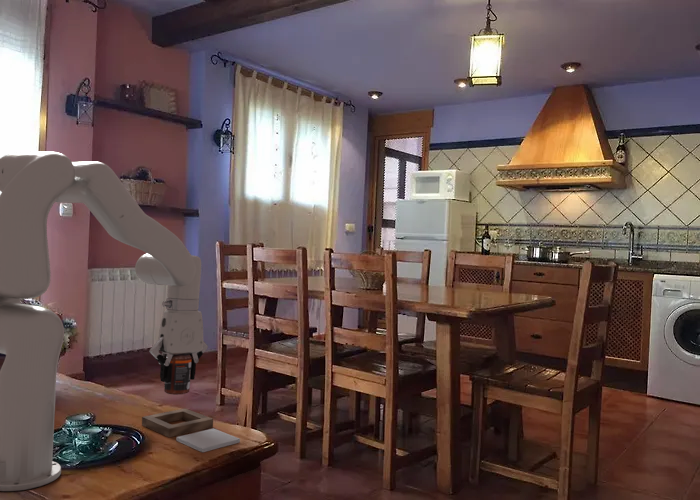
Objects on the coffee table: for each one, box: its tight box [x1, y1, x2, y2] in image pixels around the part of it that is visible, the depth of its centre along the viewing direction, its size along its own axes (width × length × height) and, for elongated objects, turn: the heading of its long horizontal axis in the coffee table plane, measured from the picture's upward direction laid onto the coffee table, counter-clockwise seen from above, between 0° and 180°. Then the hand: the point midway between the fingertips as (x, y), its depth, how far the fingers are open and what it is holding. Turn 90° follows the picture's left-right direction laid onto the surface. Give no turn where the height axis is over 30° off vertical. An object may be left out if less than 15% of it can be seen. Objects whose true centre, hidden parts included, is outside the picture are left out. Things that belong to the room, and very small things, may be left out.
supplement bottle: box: [163, 353, 192, 396], centre depth 141 cm, size 6×6×11 cm
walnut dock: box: [141, 407, 214, 438], centre depth 141 cm, size 12×12×2 cm
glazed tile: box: [175, 427, 241, 453], centre depth 132 cm, size 10×10×1 cm
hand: (177, 379), depth 141 cm, fingers closed on supplement bottle, 6 cm apart
